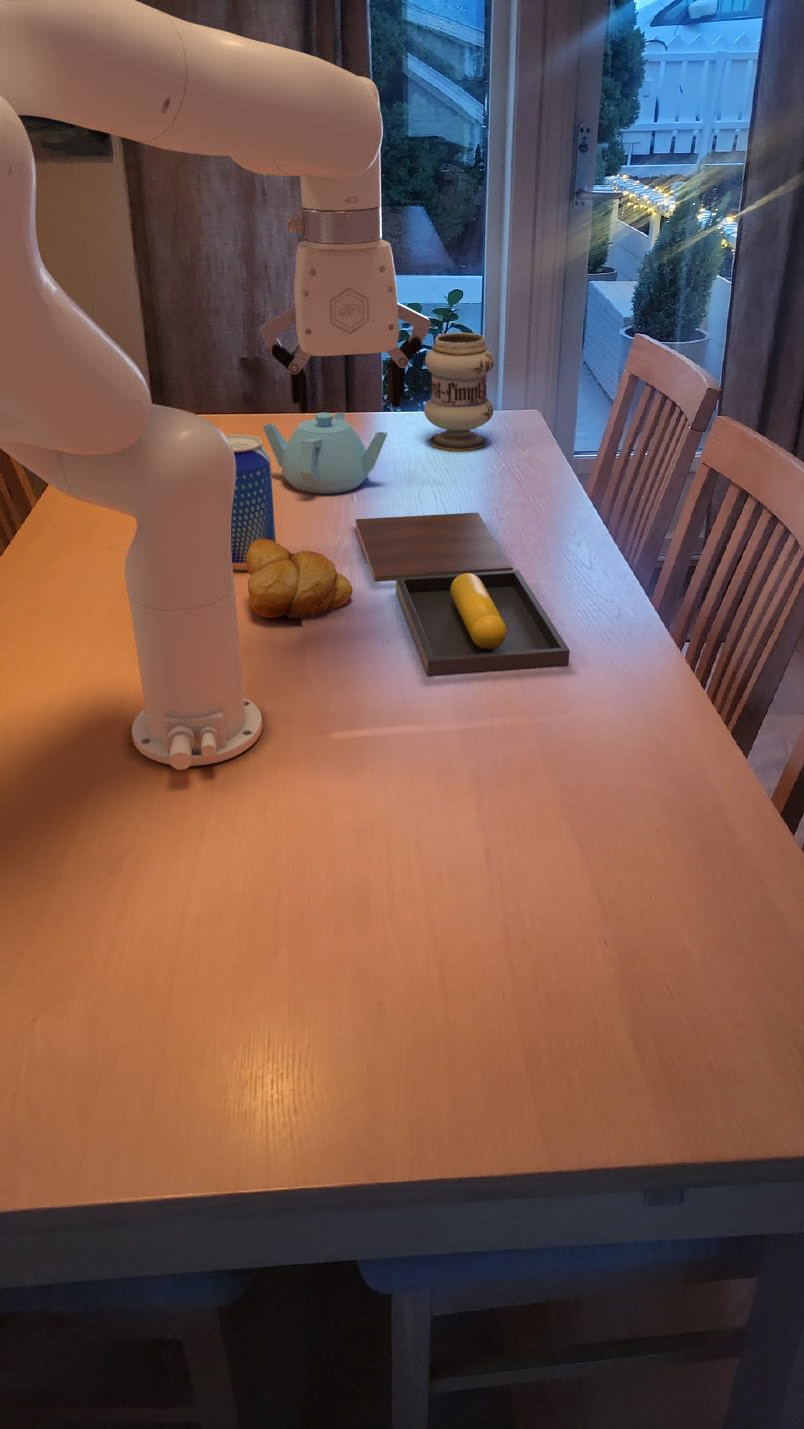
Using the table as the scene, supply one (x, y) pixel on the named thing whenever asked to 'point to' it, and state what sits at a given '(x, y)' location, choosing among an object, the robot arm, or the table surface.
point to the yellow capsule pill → (478, 611)
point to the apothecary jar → (459, 390)
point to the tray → (450, 641)
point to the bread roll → (292, 581)
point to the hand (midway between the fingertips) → (348, 406)
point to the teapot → (324, 454)
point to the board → (429, 546)
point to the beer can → (250, 497)
